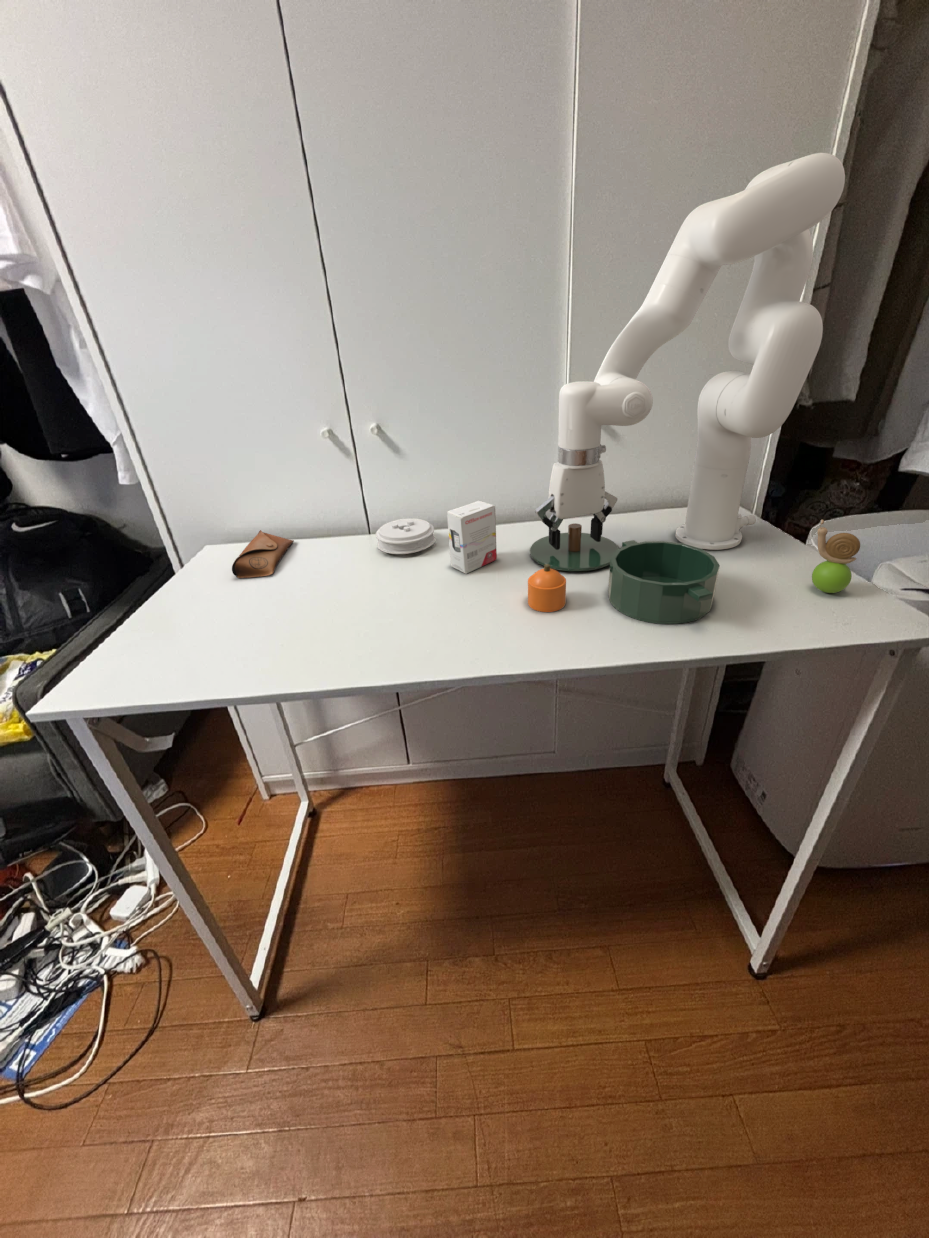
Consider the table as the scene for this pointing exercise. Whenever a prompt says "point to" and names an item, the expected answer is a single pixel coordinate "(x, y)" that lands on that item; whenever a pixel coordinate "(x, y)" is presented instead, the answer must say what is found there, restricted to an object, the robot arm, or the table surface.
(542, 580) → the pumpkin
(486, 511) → the ink box
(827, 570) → the snail figurine
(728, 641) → the table surface
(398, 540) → the white flat cylinder
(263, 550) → the sunglasses case
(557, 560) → the crock lid
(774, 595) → the table surface
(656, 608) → the crock
